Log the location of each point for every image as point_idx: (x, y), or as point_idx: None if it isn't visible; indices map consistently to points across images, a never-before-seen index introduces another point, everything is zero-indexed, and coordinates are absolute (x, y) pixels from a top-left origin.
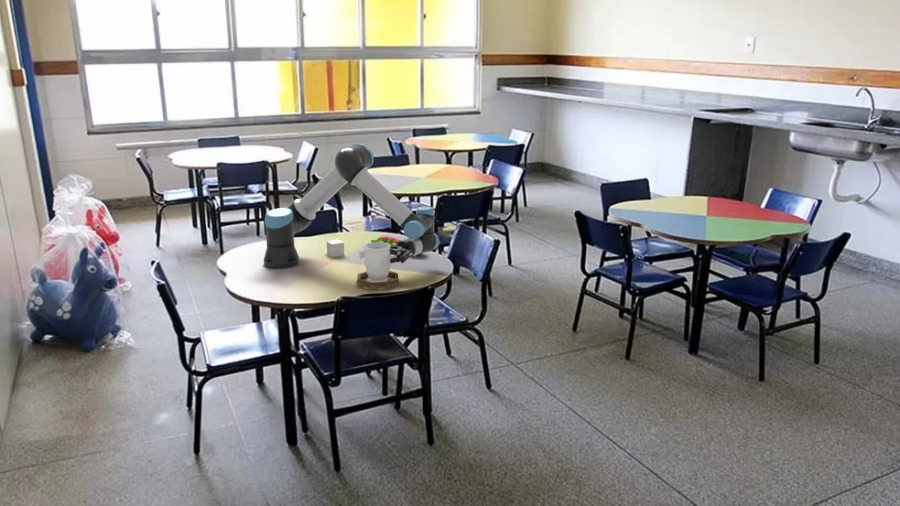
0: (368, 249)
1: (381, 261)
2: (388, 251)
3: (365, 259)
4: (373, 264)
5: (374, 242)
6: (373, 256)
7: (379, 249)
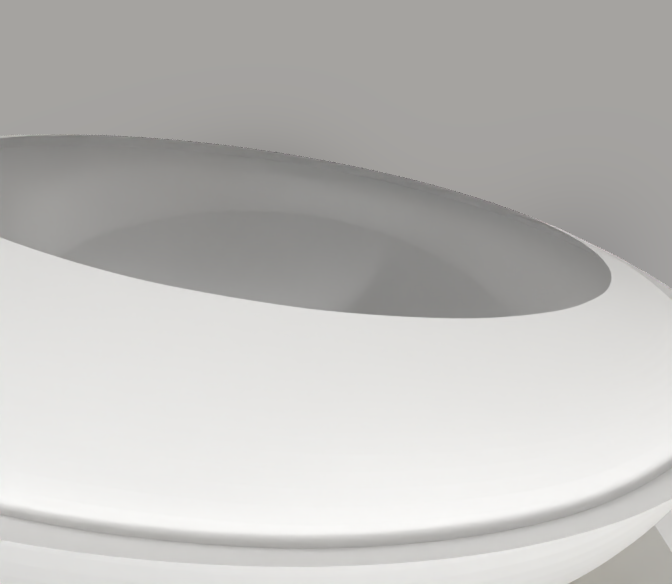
0: (353, 177)
1: (208, 286)
2: (63, 253)
3: (379, 303)
4: (282, 299)
5: (650, 291)
6: (288, 236)
7: (222, 148)
